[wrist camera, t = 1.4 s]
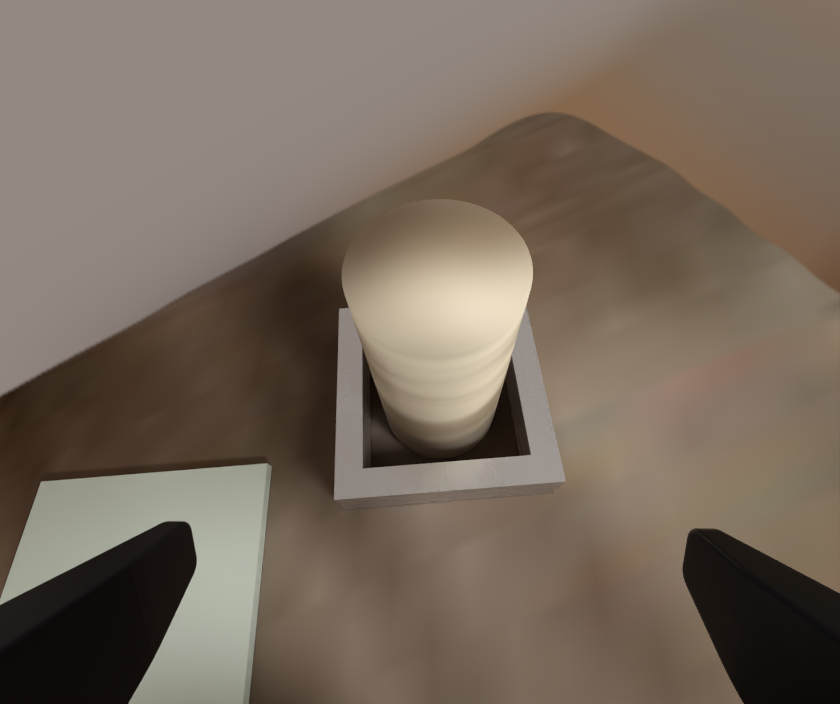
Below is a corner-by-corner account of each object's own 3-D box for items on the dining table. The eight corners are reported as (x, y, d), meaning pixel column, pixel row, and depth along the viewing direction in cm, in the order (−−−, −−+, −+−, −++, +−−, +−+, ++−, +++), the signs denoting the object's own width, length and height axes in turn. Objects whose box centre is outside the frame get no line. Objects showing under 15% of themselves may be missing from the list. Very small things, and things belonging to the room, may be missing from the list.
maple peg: (502, 454, 21) (551, 340, 11) (387, 463, 21) (339, 358, 11) (485, 353, 24) (514, 192, 14) (384, 361, 24) (343, 207, 14)
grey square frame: (552, 493, 20) (565, 481, 18) (346, 509, 20) (334, 499, 18) (515, 319, 25) (523, 293, 22) (348, 333, 25) (339, 308, 22)
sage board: (243, 765, 16) (236, 771, 15) (-51, 786, 16) (-68, 793, 15) (271, 466, 21) (267, 463, 21) (50, 484, 21) (41, 481, 21)
